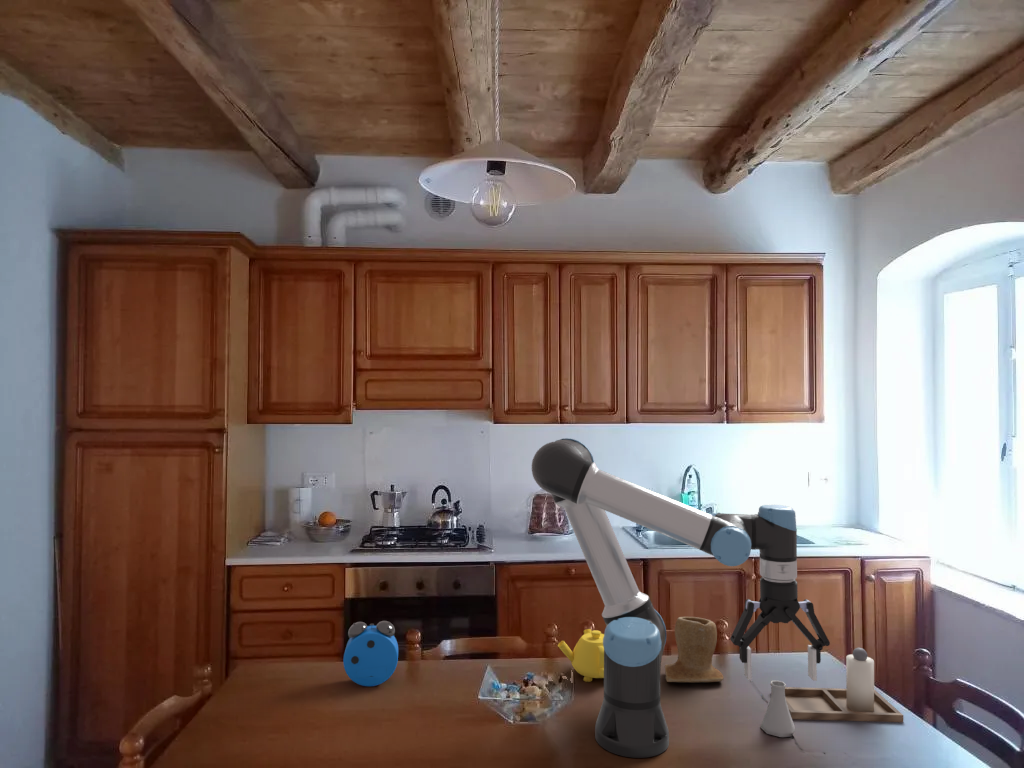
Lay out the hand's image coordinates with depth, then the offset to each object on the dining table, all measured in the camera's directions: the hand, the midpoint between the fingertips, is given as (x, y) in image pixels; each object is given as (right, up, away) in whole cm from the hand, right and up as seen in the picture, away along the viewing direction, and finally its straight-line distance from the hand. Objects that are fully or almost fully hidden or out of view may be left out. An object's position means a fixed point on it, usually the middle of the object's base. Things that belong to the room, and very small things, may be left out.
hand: (780, 677), depth 145 cm
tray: (+16, -11, +9) cm, 22 cm away
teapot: (-37, -12, +29) cm, 48 cm away
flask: (0, -11, 0) cm, 11 cm away
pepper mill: (+22, -11, +9) cm, 26 cm away
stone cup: (-12, -12, +26) cm, 31 cm away
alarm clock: (-93, -11, +22) cm, 96 cm away
